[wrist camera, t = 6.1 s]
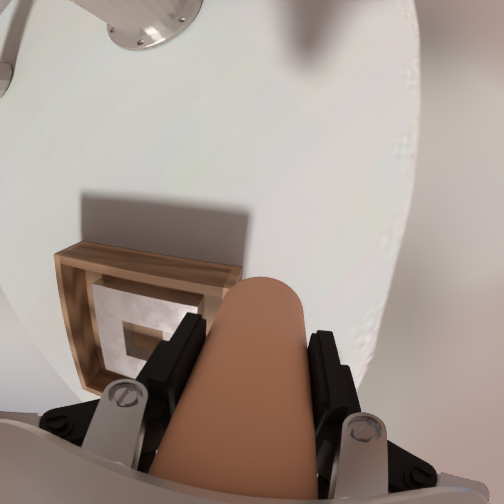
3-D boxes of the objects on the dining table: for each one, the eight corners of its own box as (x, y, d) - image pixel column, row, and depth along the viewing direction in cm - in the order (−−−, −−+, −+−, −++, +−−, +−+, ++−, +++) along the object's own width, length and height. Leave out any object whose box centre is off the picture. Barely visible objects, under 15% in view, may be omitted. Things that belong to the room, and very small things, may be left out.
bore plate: (102, 276, 34) (91, 283, 31) (203, 297, 33) (197, 307, 30) (113, 359, 38) (105, 369, 35) (199, 383, 37) (195, 394, 35)
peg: (223, 271, 13) (121, 462, 4) (310, 282, 13) (345, 496, 3) (218, 342, 14) (154, 520, 5) (295, 352, 14) (295, 541, 5)
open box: (81, 240, 34) (53, 254, 28) (242, 267, 32) (233, 289, 27) (99, 367, 40) (82, 388, 34) (226, 401, 39) (219, 431, 33)
